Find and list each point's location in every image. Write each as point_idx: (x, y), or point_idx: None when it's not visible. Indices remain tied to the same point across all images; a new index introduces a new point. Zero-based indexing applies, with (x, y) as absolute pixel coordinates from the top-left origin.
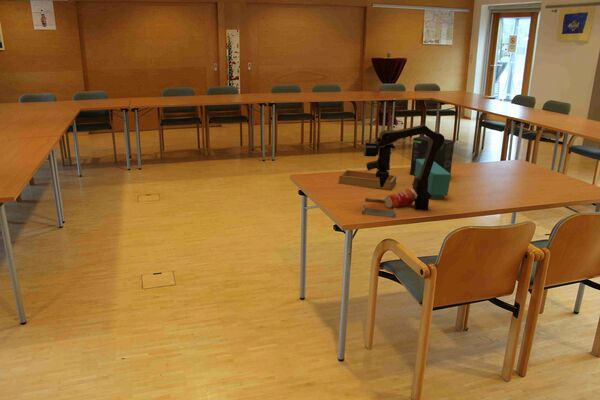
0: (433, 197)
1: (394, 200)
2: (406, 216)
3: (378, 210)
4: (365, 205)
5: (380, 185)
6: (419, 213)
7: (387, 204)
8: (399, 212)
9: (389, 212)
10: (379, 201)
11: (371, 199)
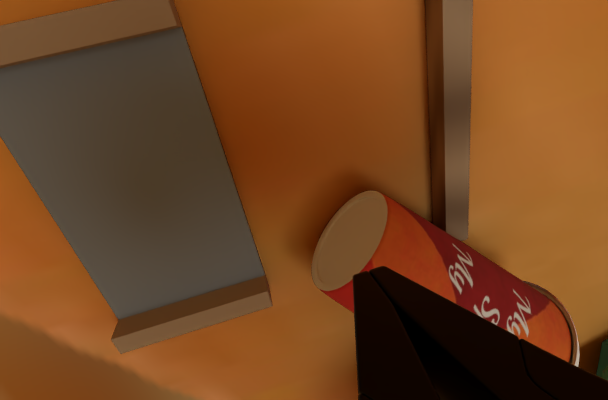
0: (606, 351)
1: (341, 303)
2: (204, 367)
3: (189, 176)
4: (160, 26)
5: (355, 296)
6: (311, 392)
7: (352, 211)
8: (262, 310)
9: (198, 267)
10: (436, 109)
11: (442, 22)
